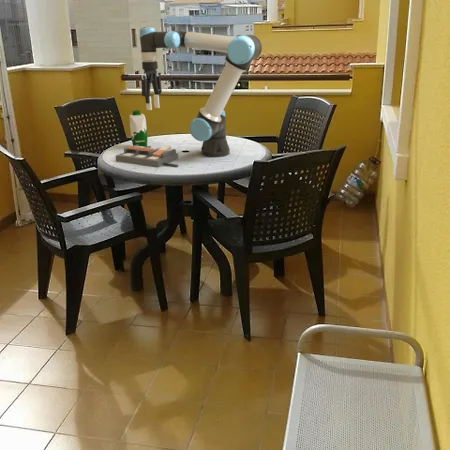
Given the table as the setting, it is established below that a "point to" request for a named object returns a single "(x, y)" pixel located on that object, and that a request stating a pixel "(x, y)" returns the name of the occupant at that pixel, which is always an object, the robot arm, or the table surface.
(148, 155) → the power strip
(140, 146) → the rocker
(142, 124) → the milk carton
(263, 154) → the table surface
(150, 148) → the middle rocker
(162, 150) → the rocker
